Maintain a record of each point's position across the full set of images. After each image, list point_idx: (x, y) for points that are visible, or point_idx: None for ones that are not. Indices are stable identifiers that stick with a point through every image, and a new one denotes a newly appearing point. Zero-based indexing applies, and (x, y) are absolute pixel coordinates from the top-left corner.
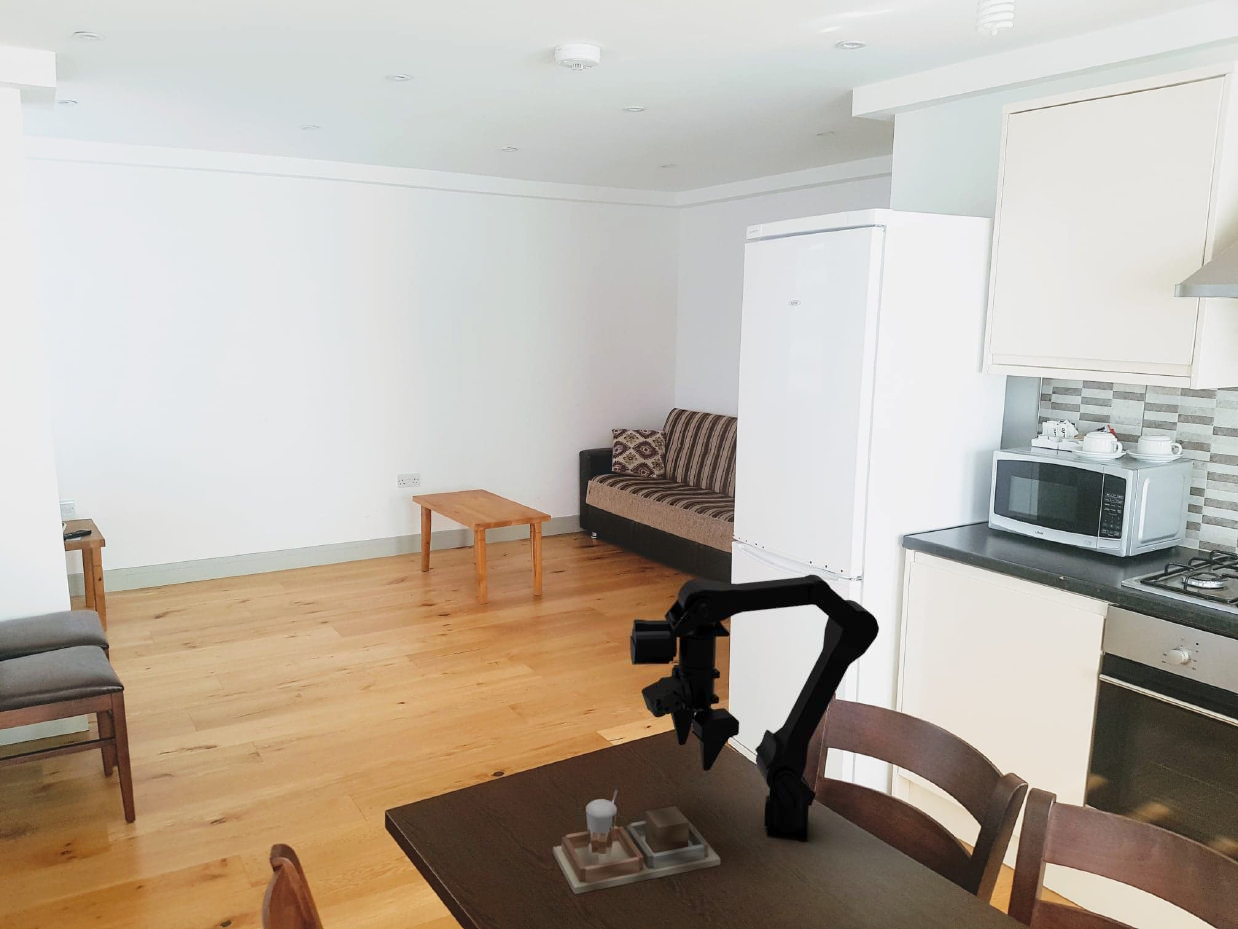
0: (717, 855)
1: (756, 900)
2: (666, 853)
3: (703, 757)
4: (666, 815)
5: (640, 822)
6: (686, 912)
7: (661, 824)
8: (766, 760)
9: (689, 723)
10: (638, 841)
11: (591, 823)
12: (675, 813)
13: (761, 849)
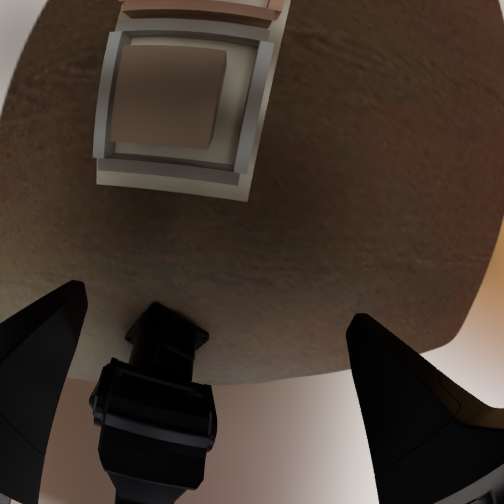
0: (106, 184)
1: (15, 186)
2: (105, 62)
3: (11, 316)
4: (170, 95)
5: (264, 66)
6: (25, 66)
7: (133, 60)
8: (127, 428)
9: (371, 423)
10: (184, 20)
11: None
12: (167, 127)
13: (124, 272)
